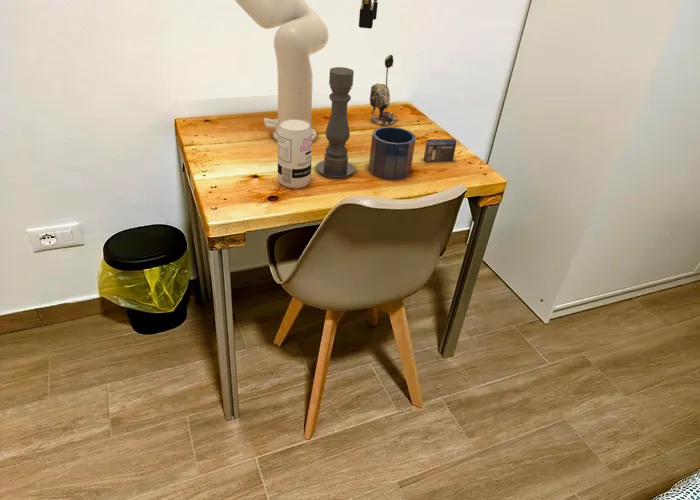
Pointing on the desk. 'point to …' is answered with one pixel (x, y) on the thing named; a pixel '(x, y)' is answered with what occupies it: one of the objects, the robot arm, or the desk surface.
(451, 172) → the desk surface
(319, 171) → the coaster
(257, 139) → the desk surface
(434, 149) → the mini dv tape
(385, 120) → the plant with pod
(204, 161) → the desk surface
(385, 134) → the crock
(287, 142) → the supplement can
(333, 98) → the candle holder
